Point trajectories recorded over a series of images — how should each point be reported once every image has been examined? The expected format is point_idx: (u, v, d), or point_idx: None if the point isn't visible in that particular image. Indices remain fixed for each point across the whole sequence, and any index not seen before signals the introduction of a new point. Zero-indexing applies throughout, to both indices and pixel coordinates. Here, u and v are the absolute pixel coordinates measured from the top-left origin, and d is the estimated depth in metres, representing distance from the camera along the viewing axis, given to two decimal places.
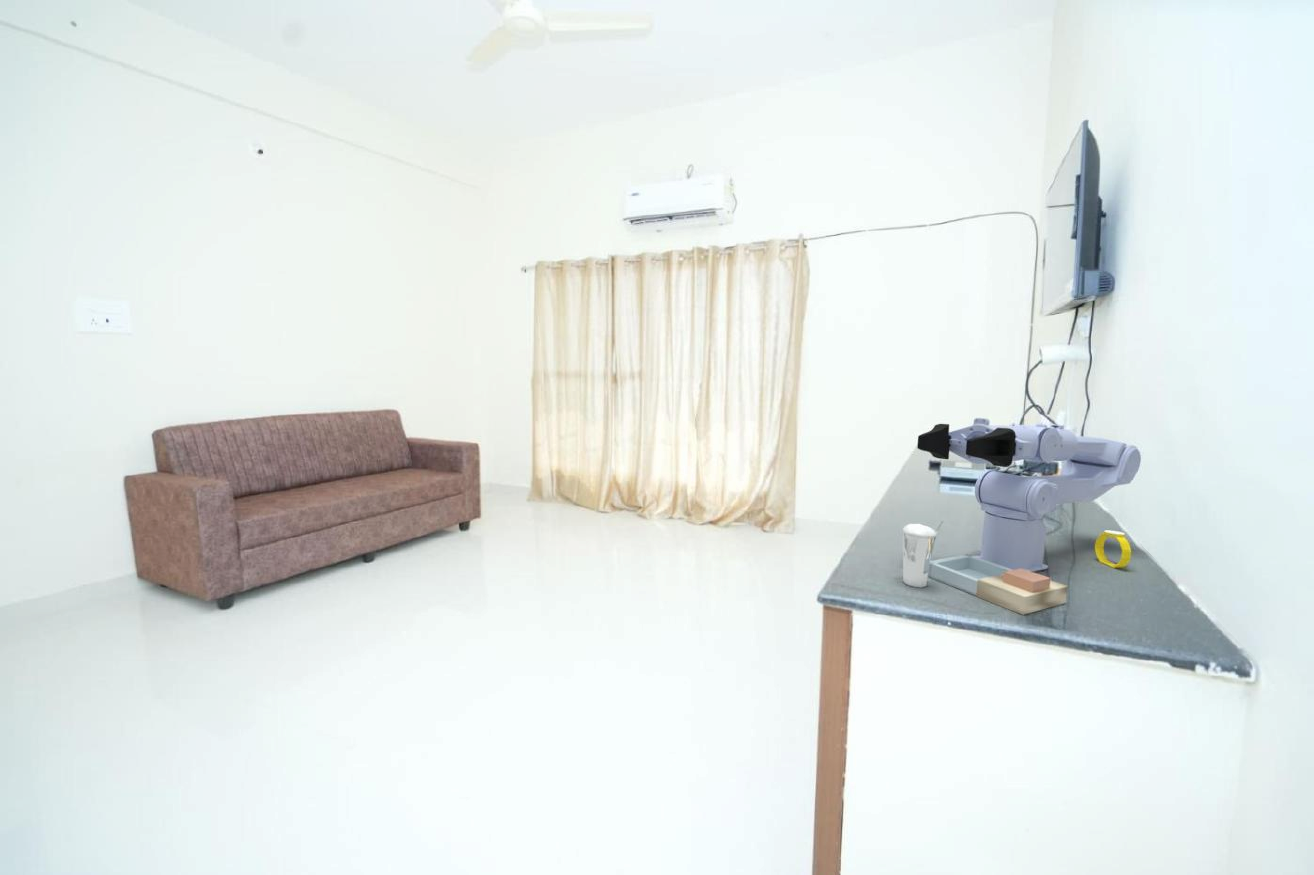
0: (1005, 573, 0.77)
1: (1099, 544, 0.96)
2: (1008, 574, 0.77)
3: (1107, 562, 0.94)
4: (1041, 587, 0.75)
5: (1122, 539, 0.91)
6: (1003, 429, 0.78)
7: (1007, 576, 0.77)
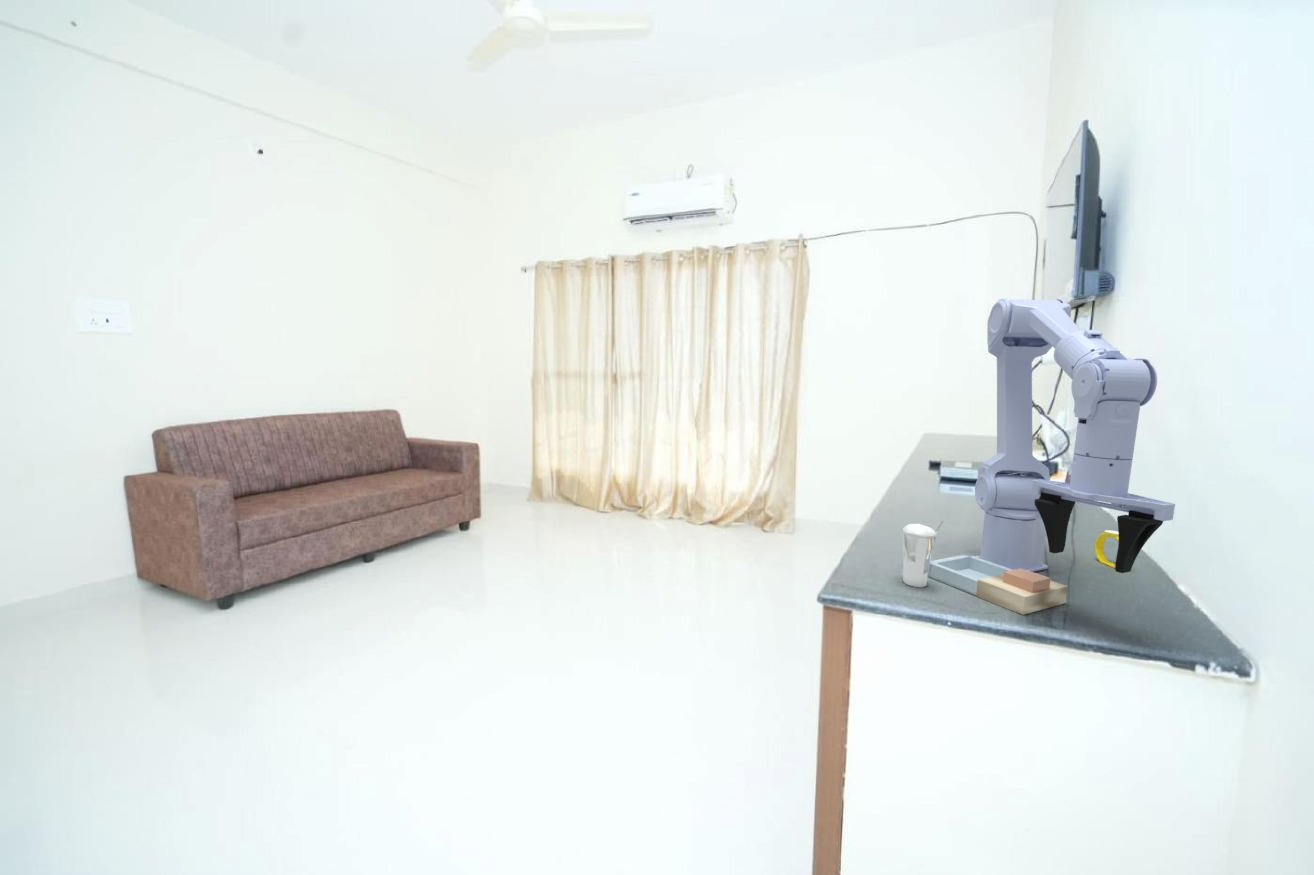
0: (1005, 573, 0.77)
1: (1099, 544, 0.96)
2: (1008, 574, 0.77)
3: (1107, 562, 0.94)
4: (1041, 587, 0.75)
5: None
6: (1128, 524, 0.63)
7: (1007, 576, 0.77)
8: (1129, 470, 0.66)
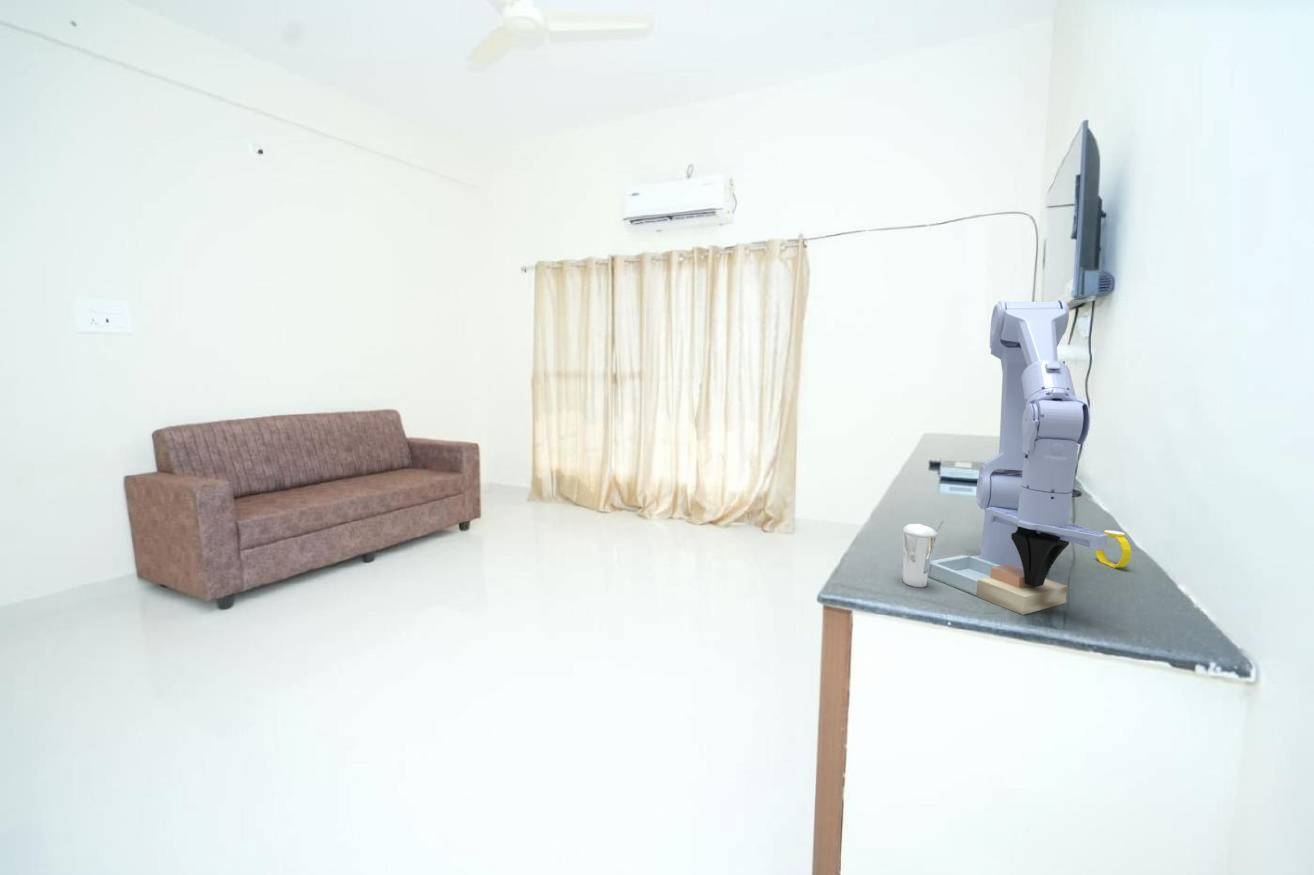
0: (992, 569, 0.79)
1: None
2: (995, 570, 0.78)
3: (1107, 562, 0.94)
4: None
5: (1122, 539, 0.91)
6: (1037, 545, 0.72)
7: (994, 571, 0.78)
8: (1069, 502, 0.72)
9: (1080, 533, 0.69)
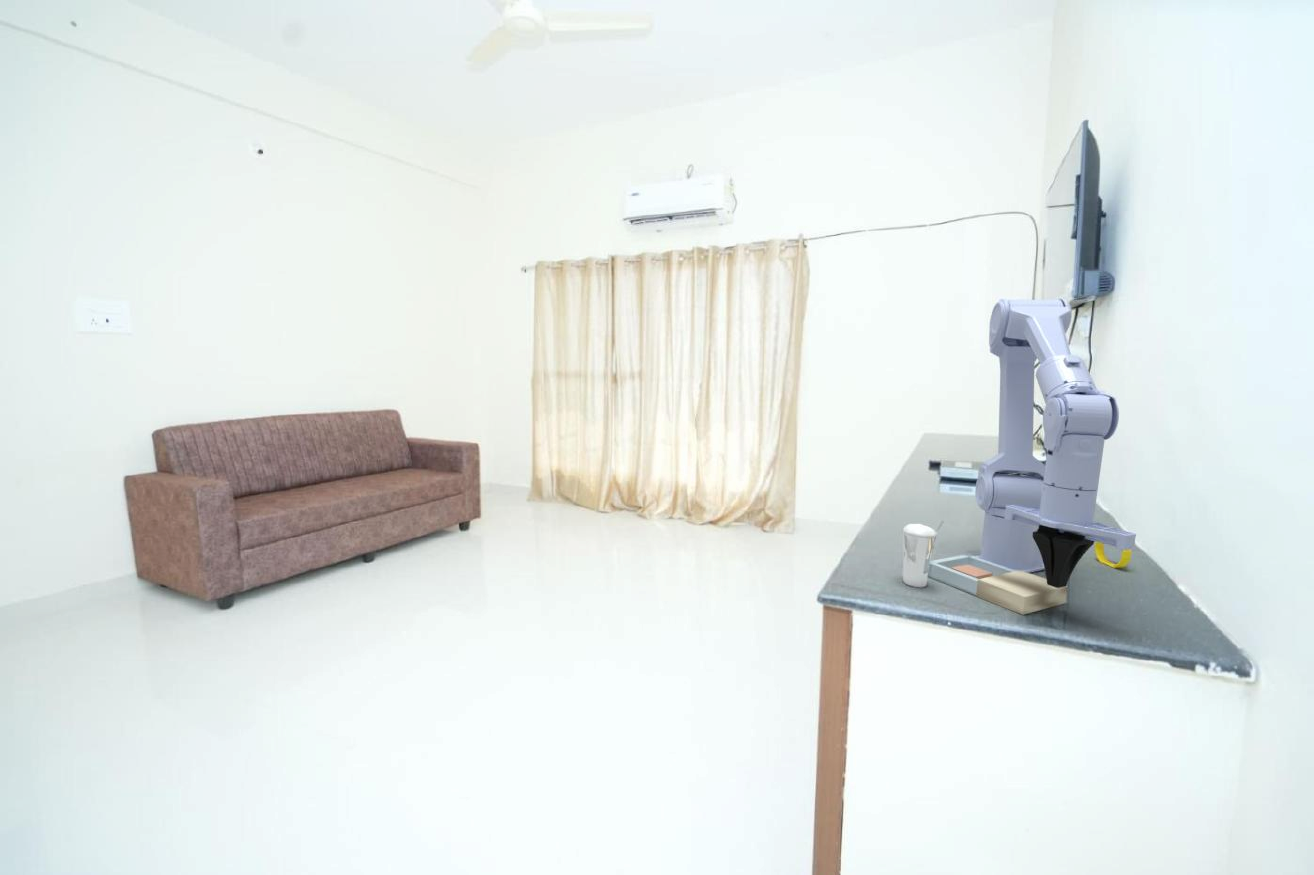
0: None
1: (1099, 544, 0.96)
2: None
3: (1107, 562, 0.94)
4: None
5: None
6: (1061, 544, 0.70)
7: None
8: (1094, 500, 0.69)
9: (1106, 532, 0.66)
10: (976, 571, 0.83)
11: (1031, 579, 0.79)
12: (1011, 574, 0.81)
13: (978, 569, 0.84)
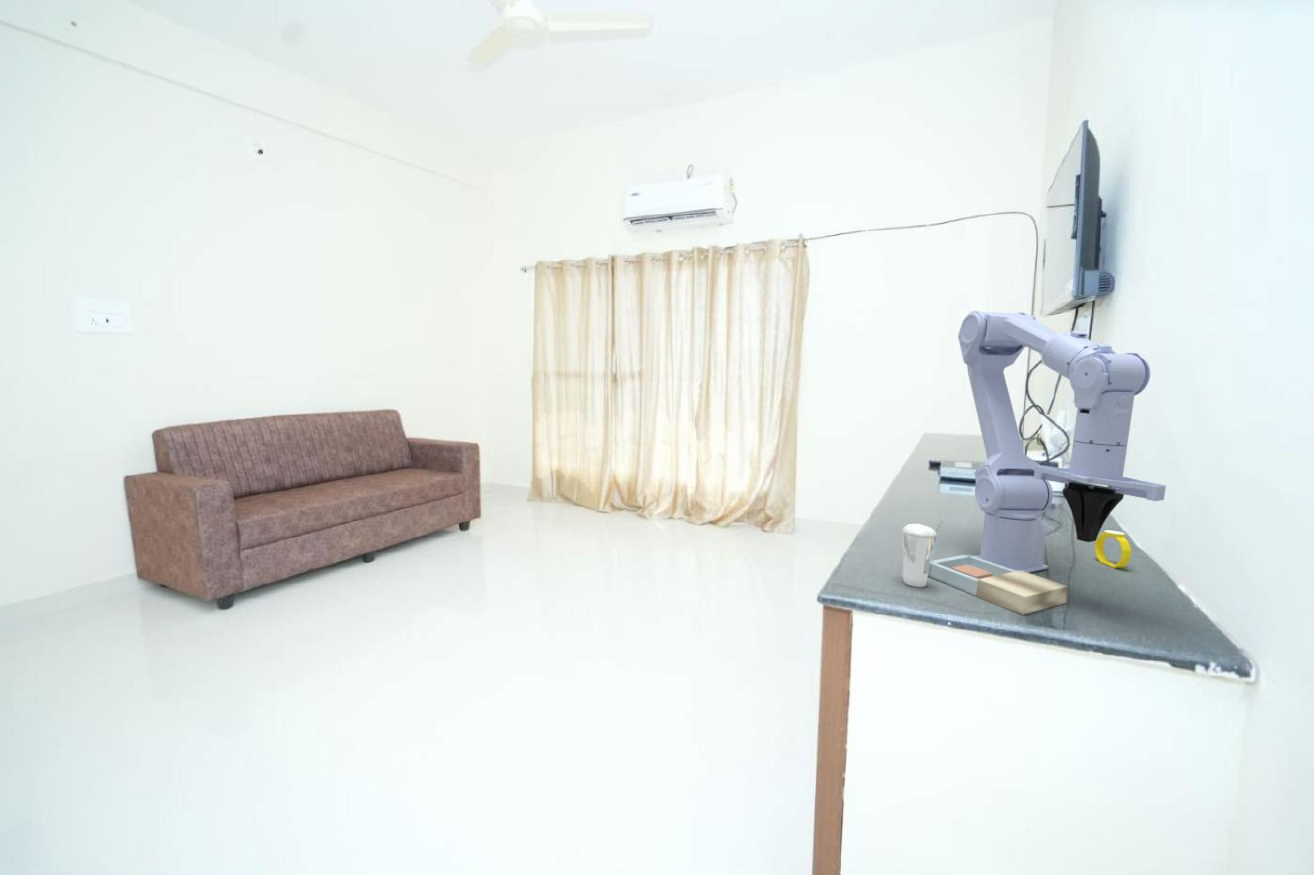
0: None
1: (1099, 544, 0.96)
2: None
3: (1107, 562, 0.94)
4: None
5: (1122, 539, 0.91)
6: (1092, 498, 0.72)
7: None
8: (1124, 455, 0.71)
9: (1137, 484, 0.69)
10: (976, 571, 0.83)
11: (1031, 579, 0.79)
12: (1011, 574, 0.81)
13: (978, 569, 0.84)
